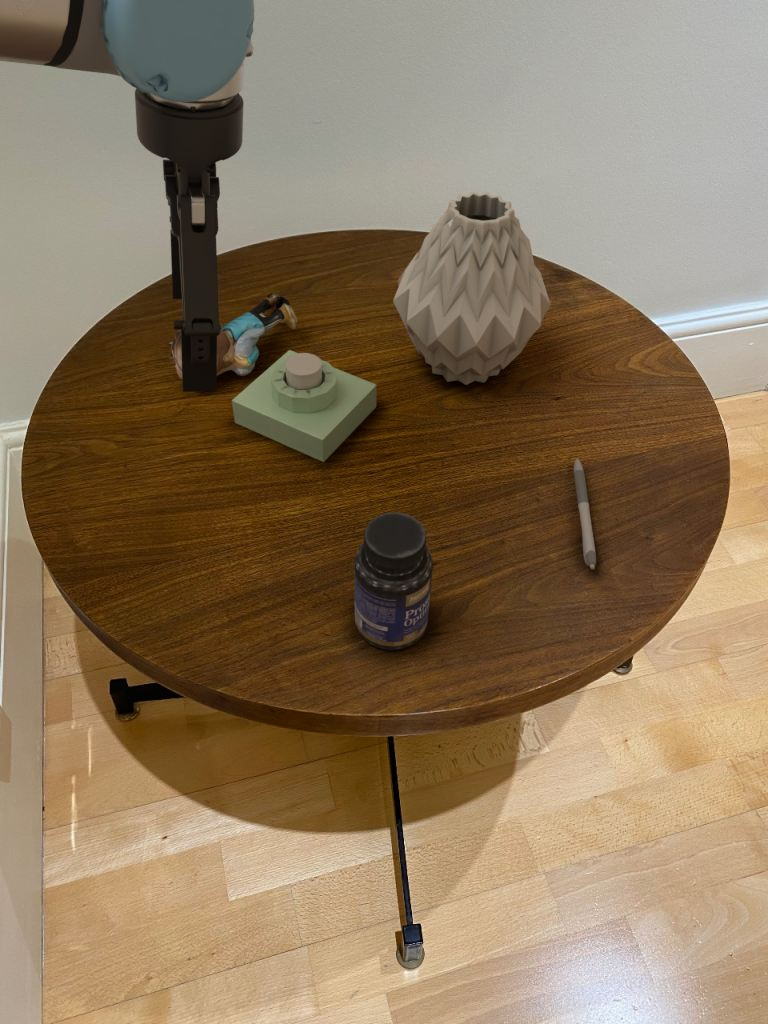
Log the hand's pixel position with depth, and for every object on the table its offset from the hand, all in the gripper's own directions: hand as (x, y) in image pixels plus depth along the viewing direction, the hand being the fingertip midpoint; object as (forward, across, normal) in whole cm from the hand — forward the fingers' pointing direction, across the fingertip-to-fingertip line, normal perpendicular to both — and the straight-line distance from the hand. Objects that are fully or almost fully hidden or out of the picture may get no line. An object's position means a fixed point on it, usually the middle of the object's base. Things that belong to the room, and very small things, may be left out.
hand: (193, 340), depth 76 cm
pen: (+10, -15, -34) cm, 39 cm away
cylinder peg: (+8, +4, -11) cm, 14 cm away
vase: (+10, +10, -30) cm, 33 cm away
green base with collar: (+12, +4, -12) cm, 18 cm away
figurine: (+13, +15, -6) cm, 21 cm away
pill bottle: (+12, -23, -14) cm, 30 cm away
